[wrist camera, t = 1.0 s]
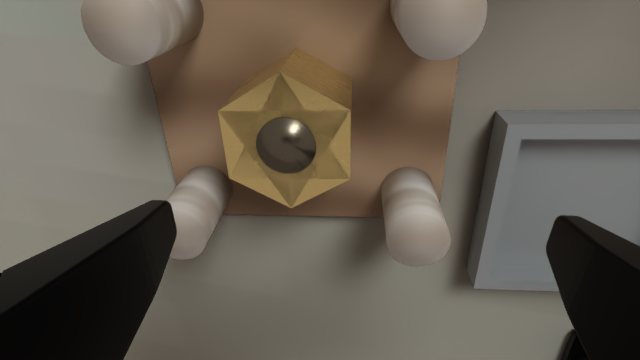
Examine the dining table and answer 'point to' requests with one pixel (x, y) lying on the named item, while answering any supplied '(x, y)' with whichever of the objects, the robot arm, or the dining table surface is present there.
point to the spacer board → (333, 49)
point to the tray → (551, 189)
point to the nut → (290, 129)
